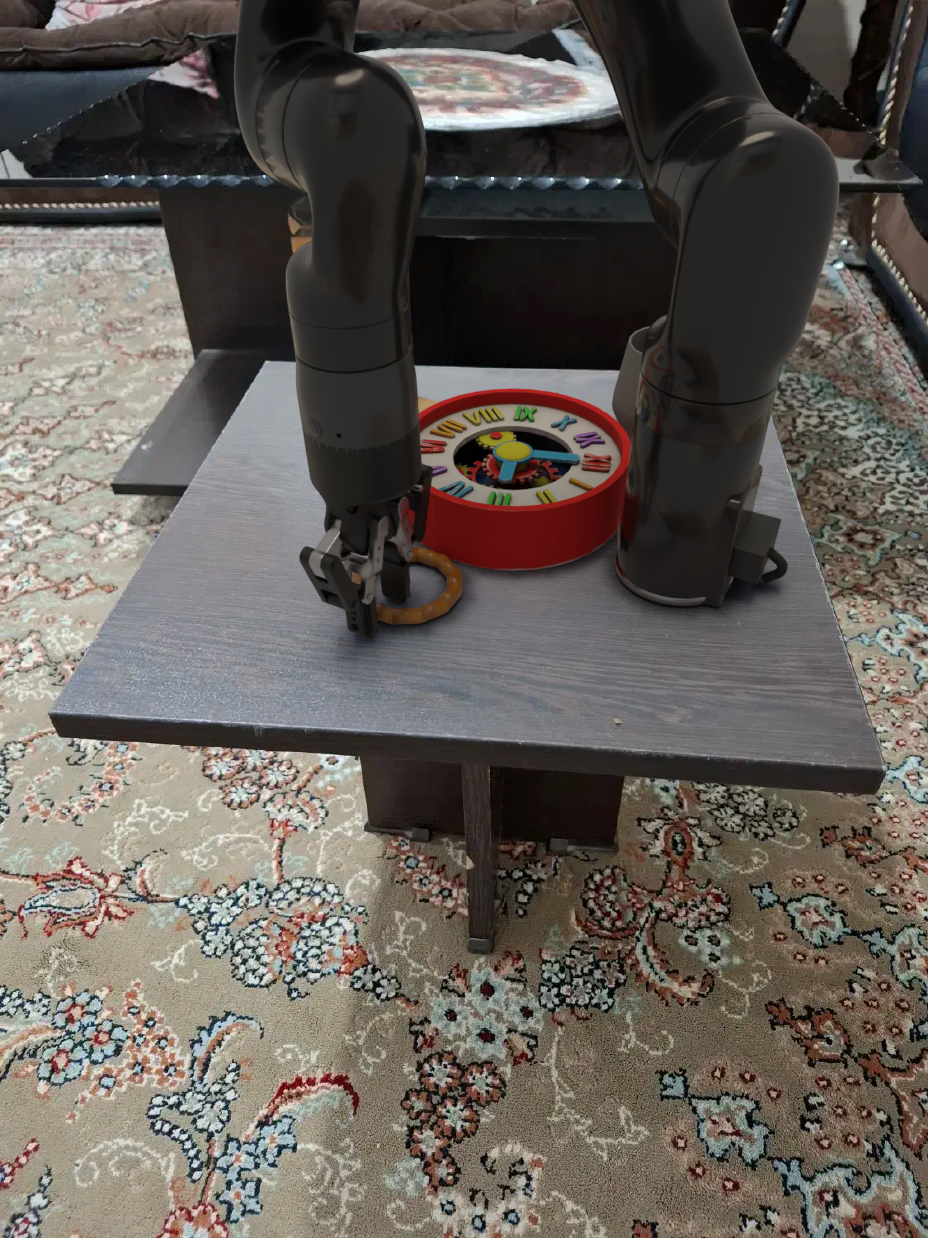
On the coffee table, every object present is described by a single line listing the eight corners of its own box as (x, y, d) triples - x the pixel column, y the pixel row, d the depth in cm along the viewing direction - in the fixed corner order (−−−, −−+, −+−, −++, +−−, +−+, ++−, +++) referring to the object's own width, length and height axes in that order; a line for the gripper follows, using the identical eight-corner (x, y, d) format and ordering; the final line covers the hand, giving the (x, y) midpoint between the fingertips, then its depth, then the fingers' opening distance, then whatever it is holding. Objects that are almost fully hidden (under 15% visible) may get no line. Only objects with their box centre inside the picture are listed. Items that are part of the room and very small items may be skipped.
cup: (697, 415, 91) (713, 320, 84) (714, 464, 84) (733, 365, 78) (603, 415, 91) (612, 320, 85) (613, 464, 84) (624, 365, 78)
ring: (481, 574, 72) (481, 563, 72) (427, 641, 67) (426, 629, 66) (389, 545, 76) (388, 533, 75) (329, 605, 70) (328, 594, 69)
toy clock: (426, 380, 85) (638, 397, 82) (429, 434, 89) (631, 452, 86) (368, 497, 71) (623, 523, 67) (374, 556, 75) (615, 583, 71)
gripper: (346, 483, 51) (372, 691, 63) (464, 379, 60) (467, 576, 72) (242, 452, 54) (285, 657, 65) (370, 357, 63) (388, 550, 75)
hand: (381, 614), depth 68 cm, fingers open, 4 cm apart
